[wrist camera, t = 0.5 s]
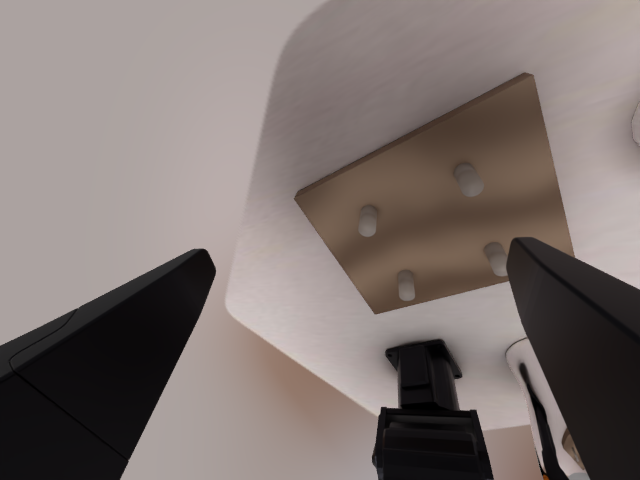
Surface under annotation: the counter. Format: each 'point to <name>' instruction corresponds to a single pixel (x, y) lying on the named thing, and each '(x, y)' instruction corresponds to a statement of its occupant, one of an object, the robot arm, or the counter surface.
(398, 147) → the pin board
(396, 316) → the counter surface
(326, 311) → the counter surface
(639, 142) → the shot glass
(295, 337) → the counter surface
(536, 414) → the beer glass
